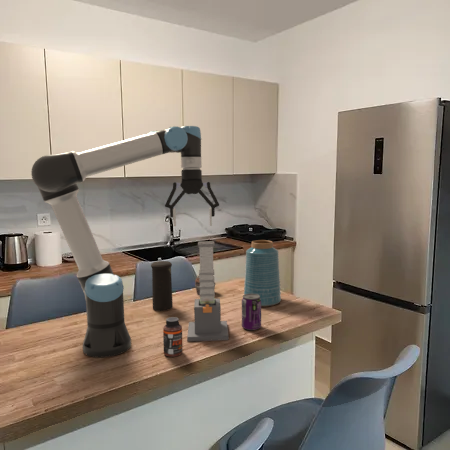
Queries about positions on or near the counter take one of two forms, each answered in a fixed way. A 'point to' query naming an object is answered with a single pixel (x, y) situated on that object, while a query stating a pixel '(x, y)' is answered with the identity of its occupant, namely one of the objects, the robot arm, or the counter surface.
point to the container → (161, 285)
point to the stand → (207, 323)
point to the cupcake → (198, 285)
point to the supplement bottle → (172, 337)
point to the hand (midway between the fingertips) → (192, 225)
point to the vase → (263, 272)
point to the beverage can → (251, 311)
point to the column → (206, 273)
